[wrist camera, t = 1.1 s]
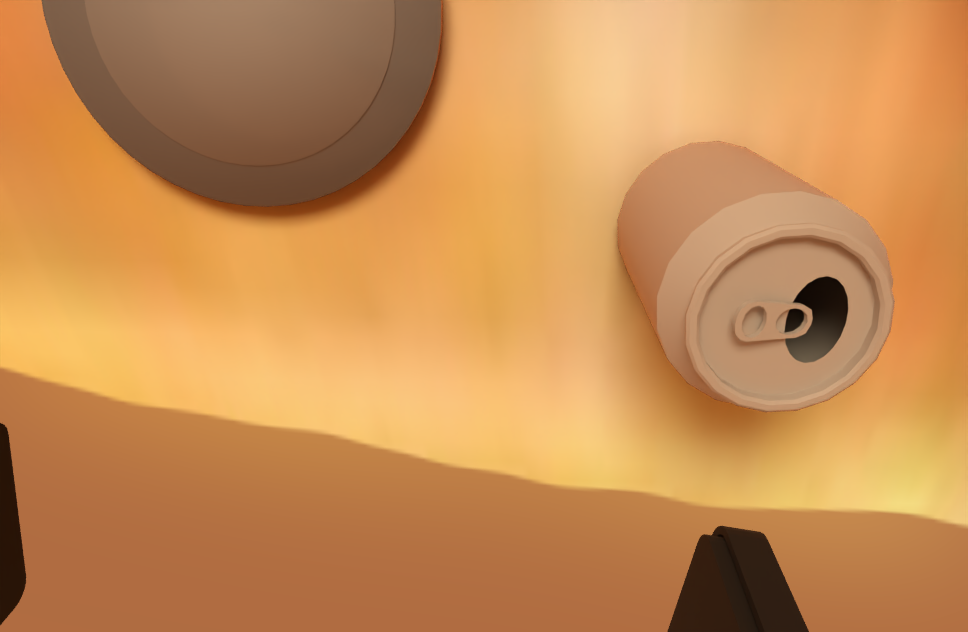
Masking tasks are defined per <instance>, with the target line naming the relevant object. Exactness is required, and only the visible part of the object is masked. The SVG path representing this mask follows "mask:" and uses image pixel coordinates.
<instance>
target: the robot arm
mask: <svg viewBox="0 0 968 632" xmlns="http://www.w3.org/2000/svg"><path fill="white" fill-rule="evenodd" d="M25 584H26V573H25V564H24V556H23V549H22V540H21V532H20V524H19V516H18V508H17V499H16V492H15V484H14V475H13V467H12V459H11V451H10V443H9V435H8V431H7V428H6V427H5V425H3V424H1V423H0V625H1V624H2V622H3V621H4V620H5V619H6V618H7V617H8V615H9V614H10V613H11V612H12V611H13V609H14V608H15V606H16V605H17V604H18V603H19V601H20V599H21V597H22V594H23V591H24V589H25ZM668 632H809V631H808V629H807V626H806V624H805V622H804V620H803V618H802V615H801V613H800V611H799V609H798V606H797V604H796V602H795V600H794V597H793V595H792V593H791V591H790V589H789V586H788V584H787V582H786V580H785V577H784V575H783V573H782V571H781V569H780V567H779V564H778V562H777V560H776V557H775V555H774V553H773V551H772V548H771V546H770V544H769V542H768V540H767V538H766V536H765V535H764V534H763V533H761V532H757V531H751V530H744V529H738V528H732V527H725V526H719V527H717V528H716V529H715V531H714V532H713V534H712V535H702V536H701V537H700V539H699V541H698V543H697V546H696V549H695V552H694V555H693V558H692V561H691V564H690V567H689V570H688V573H687V576H686V579H685V582H684V585H683V587H682V590H681V593H680V596H679V599H678V602H677V605H676V608H675V611H674V614H673V617H672V620H671V623H670V626H669V629H668Z"/></svg>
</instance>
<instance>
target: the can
mask: <svg viewBox="0 0 968 632" xmlns="http://www.w3.org/2000/svg"><path fill="white" fill-rule="evenodd" d="M618 247H619V250H620V253H621V256H622V258H623V261H624V264H625V267H626V269H627V271H628V274H629V276H630V278H631V280H632V282H633V285H634V287H635V289H636V291H637V293H638V295H639V298H640V300H641V302H642V304H643V306H644V309H645V311H646V313H647V315H648V317H649V320H650V322H651V324H652V326H653V328H654V331H655V333H656V335H657V337H658V339H659V342H660V344H661V346H662V348H663V350H664V352H665V355H666V357H667V359H668V360H669V362H670V363H671V364H672V365H673V366H674V367H675V369H676V370H677V371H678V372H679V373H680V375H681V376H682V377H683V378H684V379H685V380H686V382H687V383H688V384H690V385H692V386H693V387H695V388H697V389H698V390H700V391H702V392H704V393H705V394H707V395H709V396H710V397H712V398H714V399H715V400H720V401H724V402H728V403H733V404H735V405H737V406H741V407H745V408H750V409H754V410H759V411H763V412H777V411H795V410H800V409H803V408H806V407H809V406H812V405H815V404H818V403H821V402H824V401H827V400H829V399H831V398H832V397H834V396H835V395H837V394H838V393H840V392H842V391H843V390H845V389H846V388H848V387H849V386H851V385H853V384H854V383H855V382H856V381H857V380H858V379H859V378H860V377H861V376H862V375H863V374H864V373H865V371H866V370H867V369H868V368H869V367H870V366H871V365H872V364H873V363H874V362H875V361H876V359H877V358H878V356H879V354H880V352H881V349H882V347H883V345H884V343H885V341H886V339H887V337H888V335H889V333H890V331H891V324H892V317H893V309H894V302H895V301H894V296H893V292H892V286H893V278H892V273H891V269H890V264H889V260H888V255H887V251H886V248H885V246H884V245H883V243H882V242H881V240H880V239H879V237H878V236H877V234H876V233H875V232H874V230H873V229H872V227H871V226H870V224H869V223H868V221H867V220H866V219H864V218H863V217H861V216H860V215H858V214H857V213H855V212H854V211H852V210H851V209H850V208H848V207H847V206H845V205H844V204H842V203H841V202H839V201H838V200H836V199H834V198H832V197H831V196H829V195H827V194H825V193H824V192H822V191H820V190H819V189H817V188H815V187H813V186H812V185H810V184H808V183H806V182H805V181H803V180H801V179H799V178H798V177H796V176H794V175H792V174H791V173H789V172H787V171H785V170H784V169H782V168H780V167H778V166H777V165H775V164H773V163H771V162H770V161H768V160H766V159H765V158H763V157H761V156H759V155H758V154H756V153H754V152H752V151H751V150H749V149H747V148H745V147H741V146H737V145H733V144H729V143H725V142H721V141H713V142H700V143H690V144H688V145H685V146H683V147H680V148H678V149H675V150H673V151H670V152H668V153H665V154H663V155H662V156H661V157H660V158H658V159H657V160H656V161H654V162H653V163H652V164H651V165H649V166H648V167H647V168H646V169H644V170H643V171H642V172H641V173H640V175H639V176H638V178H637V179H636V180H635V182H634V183H633V185H632V186H631V188H630V189H629V191H628V192H627V193H626V195H625V198H624V201H623V205H622V208H621V211H620V214H619V217H618Z"/></svg>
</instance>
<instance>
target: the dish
mask: <svg viewBox="0 0 968 632" xmlns="http://www.w3.org/2000/svg"><path fill="white" fill-rule="evenodd" d="M42 6H43V11H44V16H45V20H46V23H47V27H48V30H49V33H50V37H51V40H52V43H53V46H54V48H55V51H56V53H57V55H58V58H59V60H60V63H61V65H62V67H63V70H64V71H65V73H66V75H67V77H68V79H69V81H70V82H71V84H72V86H73V88H74V90H75V91H76V93H77V95H78V96H79V98H80V99H81V101H82V102H83V103H84V105H85V106H86V108H87V109H88V111H89V112H90V113H91V115H92V116H93V118H94V119H95V120H96V121H97V122H98V123H99V124H100V126H101V127H102V128H103V129H104V130H105V131H106V132H107V134H108V135H109V136H110V137H111V138H112V139H113V140H114V141H115V142H116V143H117V144H118V145H120V146H121V147H122V148H123V149H124V150H125V151H126V152H127V153H128V154H129V155H130V156H132V157H133V158H134V159H136V160H137V161H138V162H140V163H141V164H142V165H144V166H145V167H147V168H148V169H149V170H151V171H152V172H154V173H155V174H157V175H159V176H161V177H162V178H164V179H166V180H168V181H169V182H171V183H173V184H175V185H177V186H179V187H181V188H184V189H186V190H188V191H191V192H193V193H195V194H198V195H201V196H204V197H208V198H211V199H214V200H218V201H221V202H227V203H233V204H239V205H244V206H267V207H269V206H280V205H292V204H296V203H300V202H305V201H309V200H314V199H317V198H319V197H322V196H325V195H327V194H330V193H333V192H335V191H337V190H339V189H341V188H343V187H345V186H347V185H348V184H350V183H352V182H354V181H356V180H357V179H359V178H360V177H361V176H363V175H364V174H365V173H367V172H368V171H369V170H371V169H372V168H373V167H375V166H376V165H377V164H378V163H379V162H380V161H381V160H382V159H383V158H384V157H385V156H386V155H387V154H388V153H389V152H390V151H391V150H392V149H393V148H394V147H395V146H396V144H397V143H398V142H399V141H400V139H401V138H402V137H403V135H404V134H405V133H406V131H407V130H408V129H409V128H410V126H411V125H412V123H413V121H414V119H415V118H416V116H417V114H418V112H419V111H420V109H421V107H422V106H423V103H424V101H425V98H426V96H427V93H428V91H429V89H430V86H431V84H432V81H433V77H434V73H435V70H436V66H437V62H438V59H439V52H440V45H441V38H442V28H443V0H42Z"/></svg>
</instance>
